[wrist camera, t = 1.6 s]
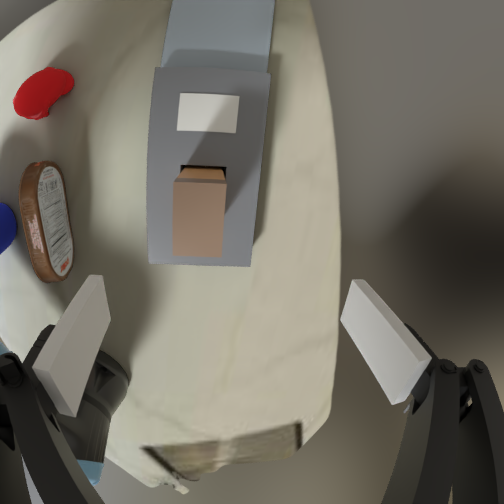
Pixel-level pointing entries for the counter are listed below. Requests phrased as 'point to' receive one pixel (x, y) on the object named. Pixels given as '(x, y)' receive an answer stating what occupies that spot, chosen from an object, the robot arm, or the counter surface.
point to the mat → (219, 34)
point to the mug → (6, 227)
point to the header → (206, 152)
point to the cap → (41, 92)
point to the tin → (46, 221)
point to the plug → (198, 211)
